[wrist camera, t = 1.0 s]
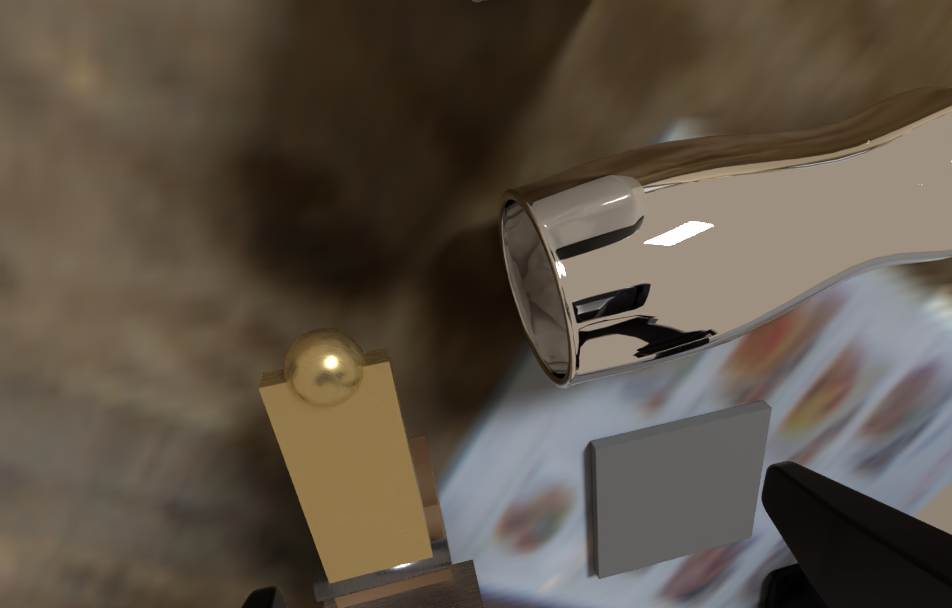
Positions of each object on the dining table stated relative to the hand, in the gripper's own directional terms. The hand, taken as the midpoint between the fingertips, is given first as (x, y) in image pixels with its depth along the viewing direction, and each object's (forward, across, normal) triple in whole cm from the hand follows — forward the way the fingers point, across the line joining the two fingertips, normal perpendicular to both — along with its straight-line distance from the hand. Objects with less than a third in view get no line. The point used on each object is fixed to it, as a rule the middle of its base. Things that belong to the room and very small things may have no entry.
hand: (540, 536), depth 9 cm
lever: (+7, +4, +3) cm, 8 cm away
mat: (+12, -11, +14) cm, 21 cm away
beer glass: (+9, -18, -2) cm, 20 cm away
